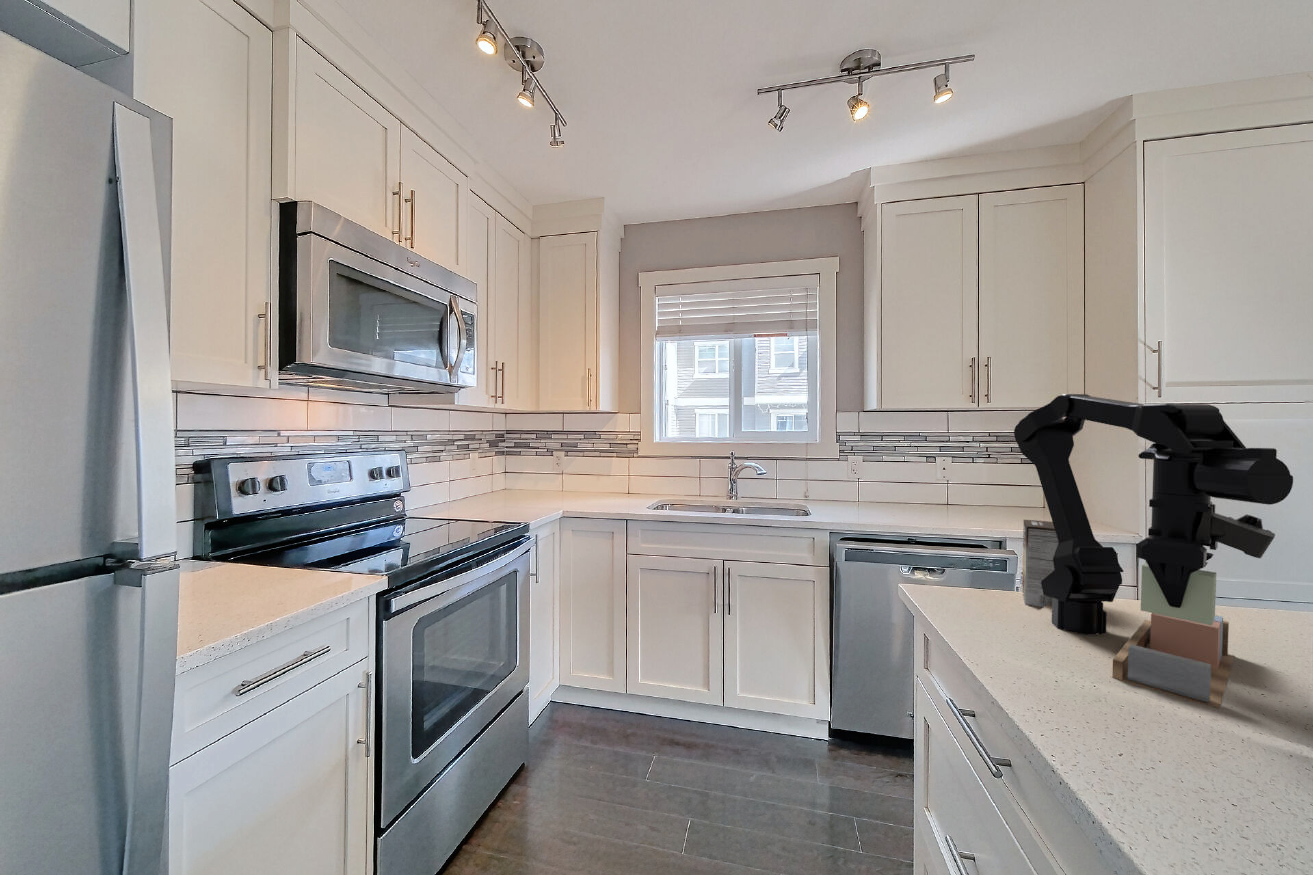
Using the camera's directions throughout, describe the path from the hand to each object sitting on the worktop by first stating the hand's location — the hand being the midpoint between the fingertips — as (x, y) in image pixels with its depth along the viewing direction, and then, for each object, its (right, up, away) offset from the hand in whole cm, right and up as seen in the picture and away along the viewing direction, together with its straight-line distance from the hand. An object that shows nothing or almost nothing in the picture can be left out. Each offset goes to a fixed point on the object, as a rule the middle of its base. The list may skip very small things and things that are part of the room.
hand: (1177, 604), depth 72 cm
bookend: (-6, -10, -4) cm, 12 cm away
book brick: (+6, -10, +5) cm, 13 cm away
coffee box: (+6, -11, +33) cm, 35 cm away
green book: (0, -2, 0) cm, 2 cm away
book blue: (+9, -10, +8) cm, 16 cm away
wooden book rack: (+3, -11, +3) cm, 11 cm away
